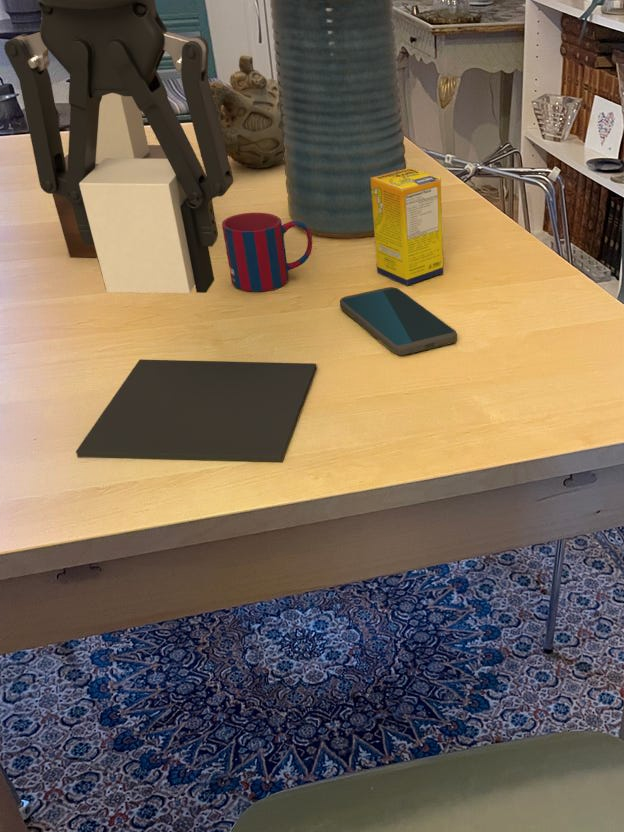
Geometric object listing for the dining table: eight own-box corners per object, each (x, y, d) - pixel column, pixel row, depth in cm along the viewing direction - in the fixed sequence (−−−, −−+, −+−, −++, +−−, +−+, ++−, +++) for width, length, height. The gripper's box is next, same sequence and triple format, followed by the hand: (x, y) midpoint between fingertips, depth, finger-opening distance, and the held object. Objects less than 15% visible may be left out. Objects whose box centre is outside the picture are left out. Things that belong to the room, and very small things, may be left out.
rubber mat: (77, 457, 82) (75, 451, 81) (140, 364, 95) (139, 359, 95) (282, 462, 81) (281, 456, 81) (316, 368, 95) (316, 363, 94)
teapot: (261, 145, 155) (246, 39, 145) (322, 152, 152) (312, 44, 142) (186, 181, 141) (164, 66, 131) (253, 190, 138) (235, 73, 127)
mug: (230, 273, 114) (220, 214, 109) (313, 266, 115) (307, 208, 111) (232, 294, 109) (222, 233, 104) (319, 287, 110) (312, 227, 106)
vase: (284, 205, 133) (248, -74, 111) (397, 197, 136) (384, -77, 115) (296, 245, 121) (259, -59, 100) (420, 235, 124) (410, -62, 103)
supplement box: (412, 260, 117) (408, 166, 110) (444, 274, 114) (442, 177, 106) (375, 273, 114) (368, 176, 107) (406, 287, 111) (402, 188, 103)
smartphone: (396, 293, 109) (396, 285, 108) (461, 341, 99) (461, 333, 99) (336, 306, 106) (335, 298, 105) (397, 357, 96) (397, 349, 96)
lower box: (90, 164, 113) (71, 88, 107) (105, 151, 117) (88, 77, 111) (135, 164, 113) (119, 89, 107) (149, 152, 117) (134, 78, 111)
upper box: (106, 293, 73) (78, 183, 68) (129, 262, 78) (104, 157, 72) (190, 293, 73) (168, 184, 68) (207, 263, 78) (189, 158, 73)
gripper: (244, -75, 63) (289, 270, 78) (-42, -78, 63) (58, 266, 79) (217, -63, 57) (271, 306, 73) (-97, -66, 58) (23, 301, 73)
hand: (160, 284), depth 76 cm, fingers closed on upper box, 7 cm apart
